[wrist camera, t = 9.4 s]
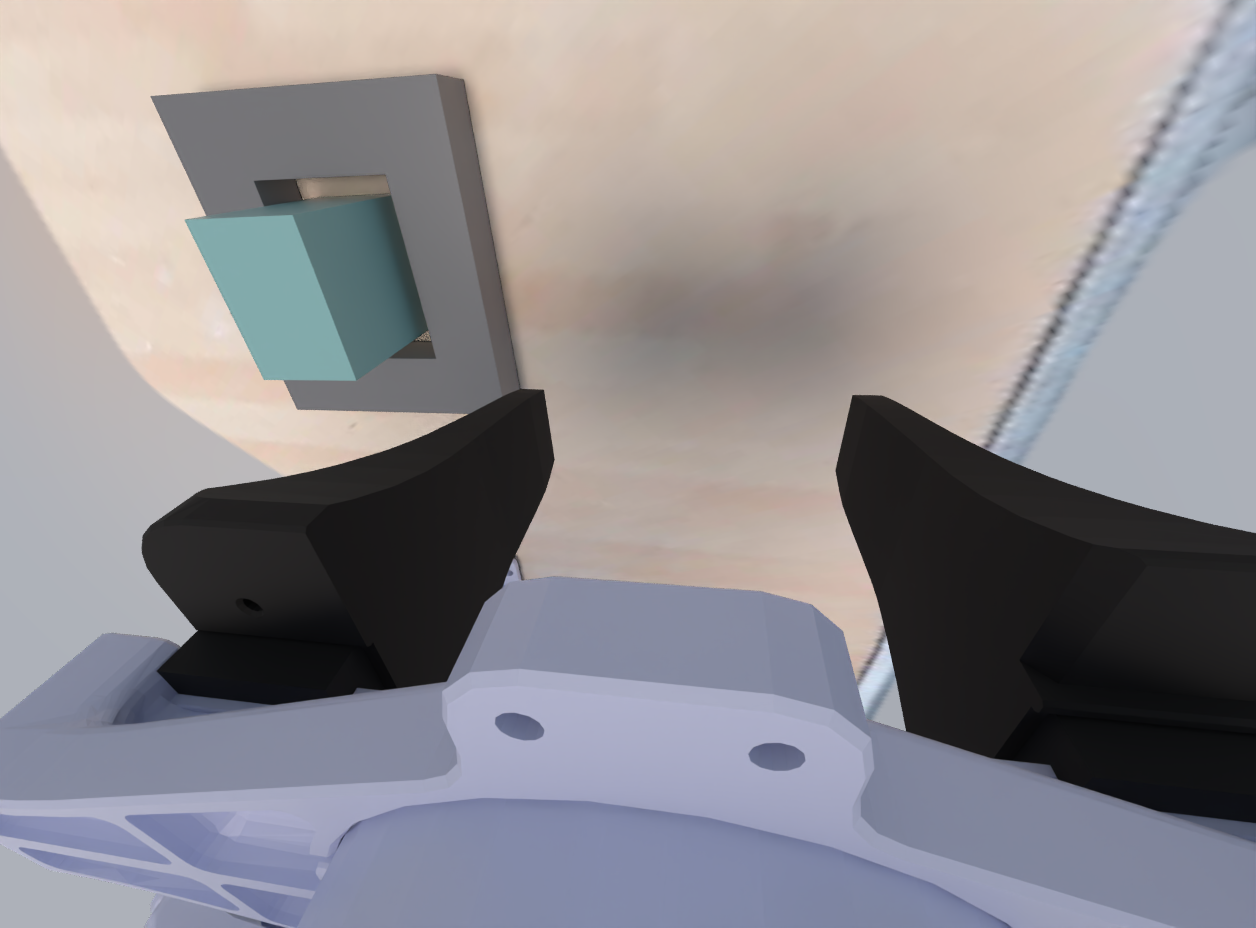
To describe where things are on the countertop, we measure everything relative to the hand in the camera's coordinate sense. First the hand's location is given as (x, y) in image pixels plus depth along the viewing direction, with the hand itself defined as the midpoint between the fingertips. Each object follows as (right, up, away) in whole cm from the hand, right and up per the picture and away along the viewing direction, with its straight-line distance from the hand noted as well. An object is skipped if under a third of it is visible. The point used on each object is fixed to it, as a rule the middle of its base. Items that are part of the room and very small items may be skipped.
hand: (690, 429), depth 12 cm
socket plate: (-12, +7, +8) cm, 16 cm away
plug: (-12, +7, +8) cm, 16 cm away
